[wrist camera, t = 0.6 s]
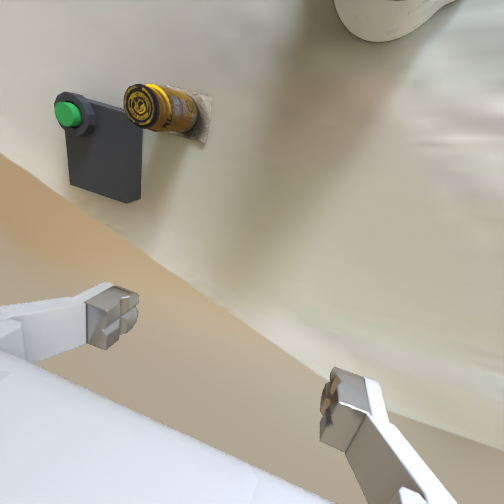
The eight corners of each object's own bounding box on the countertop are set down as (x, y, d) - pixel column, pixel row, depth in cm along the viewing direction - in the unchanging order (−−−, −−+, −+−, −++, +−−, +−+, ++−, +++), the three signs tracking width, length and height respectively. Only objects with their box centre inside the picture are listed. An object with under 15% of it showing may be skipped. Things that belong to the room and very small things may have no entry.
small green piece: (62, 100, 43) (53, 99, 42) (81, 105, 43) (72, 104, 41) (64, 123, 45) (55, 123, 44) (82, 129, 45) (74, 128, 43)
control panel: (81, 92, 48) (50, 87, 43) (143, 110, 46) (120, 107, 41) (86, 181, 56) (62, 186, 50) (140, 198, 54) (120, 206, 49)
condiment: (166, 84, 44) (116, 70, 33) (213, 96, 43) (176, 85, 32) (164, 131, 47) (117, 131, 36) (206, 143, 46) (171, 146, 35)
